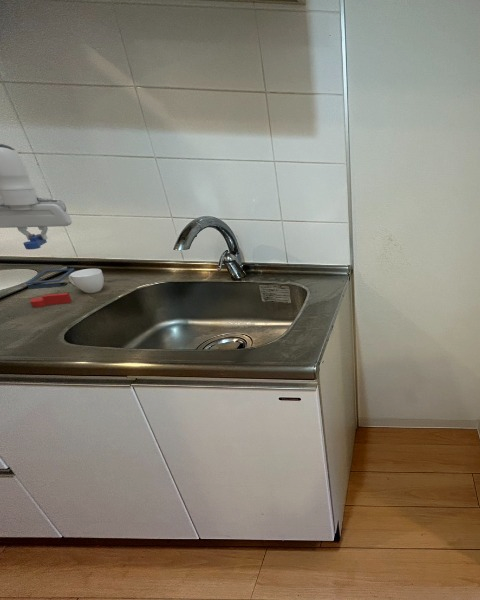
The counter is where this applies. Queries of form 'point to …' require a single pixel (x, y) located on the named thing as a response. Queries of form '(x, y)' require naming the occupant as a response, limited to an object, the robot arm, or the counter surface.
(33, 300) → the red stepped block
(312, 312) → the counter surface
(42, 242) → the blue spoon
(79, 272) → the cup
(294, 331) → the counter surface
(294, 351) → the counter surface
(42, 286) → the dark blue open frame
